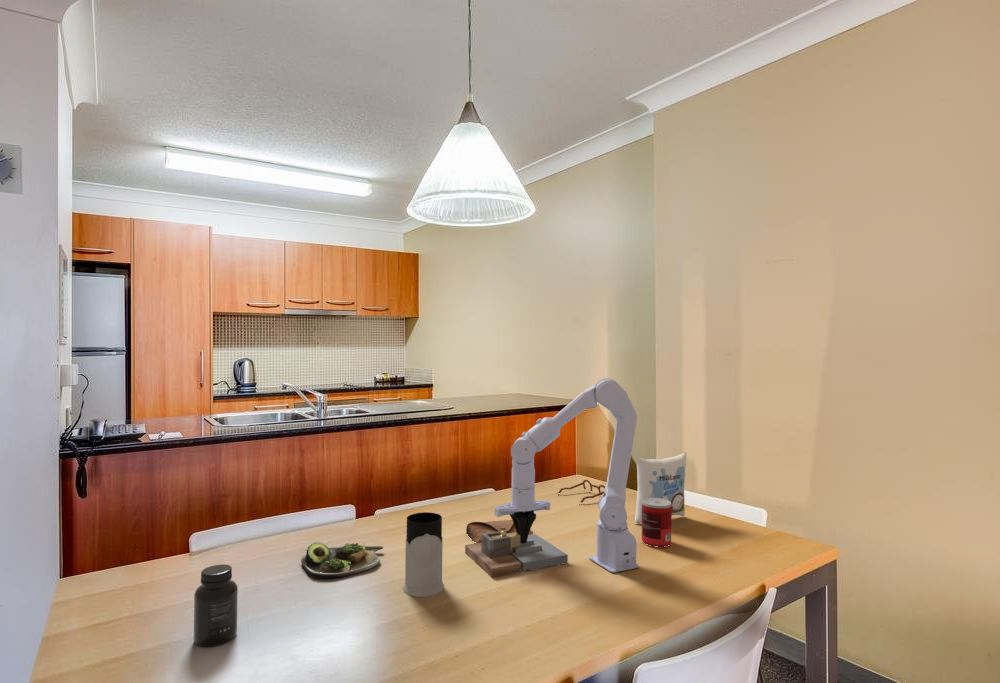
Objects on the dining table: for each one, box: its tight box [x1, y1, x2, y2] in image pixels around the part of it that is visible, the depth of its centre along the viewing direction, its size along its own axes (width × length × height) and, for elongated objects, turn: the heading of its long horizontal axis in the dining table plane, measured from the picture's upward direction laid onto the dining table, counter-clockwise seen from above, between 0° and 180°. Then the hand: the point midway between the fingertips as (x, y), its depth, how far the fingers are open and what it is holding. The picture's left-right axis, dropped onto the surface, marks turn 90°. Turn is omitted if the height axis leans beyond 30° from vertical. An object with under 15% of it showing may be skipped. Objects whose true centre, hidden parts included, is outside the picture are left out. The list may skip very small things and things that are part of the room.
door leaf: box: [510, 533, 569, 572], centre depth 137 cm, size 16×12×3 cm
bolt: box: [490, 530, 520, 552], centre depth 134 cm, size 2×7×5 cm, turn 115°
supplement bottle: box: [193, 563, 239, 648], centre depth 98 cm, size 7×7×12 cm
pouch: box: [634, 451, 687, 524], centre depth 165 cm, size 8×19×20 cm, turn 112°
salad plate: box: [300, 542, 384, 580], centre depth 132 cm, size 19×18×5 cm
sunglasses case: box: [465, 519, 533, 543], centre depth 151 cm, size 18×7×7 cm, turn 107°
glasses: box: [557, 479, 606, 503], centre depth 190 cm, size 13×13×5 cm
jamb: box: [464, 531, 522, 578], centre depth 133 cm, size 16×7×6 cm, turn 25°
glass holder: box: [402, 511, 445, 598], centre depth 121 cm, size 9×14×15 cm, turn 15°
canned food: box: [641, 498, 673, 547], centre depth 147 cm, size 8×8×11 cm
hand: (522, 541), depth 136 cm, fingers closed
